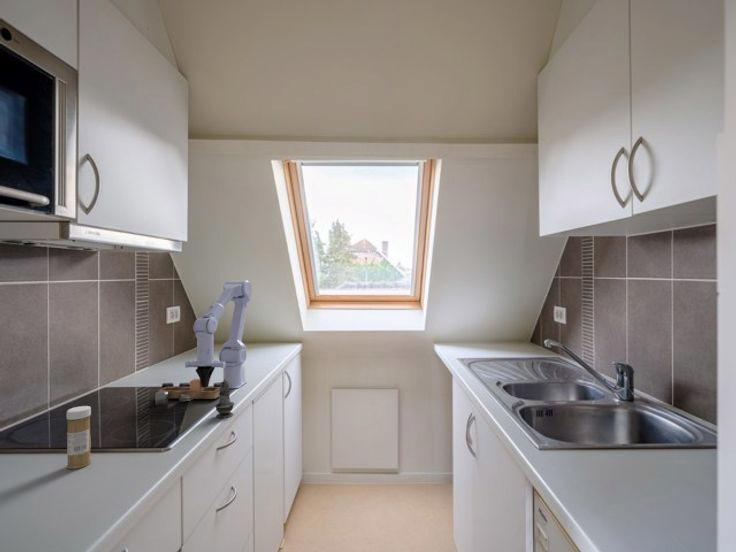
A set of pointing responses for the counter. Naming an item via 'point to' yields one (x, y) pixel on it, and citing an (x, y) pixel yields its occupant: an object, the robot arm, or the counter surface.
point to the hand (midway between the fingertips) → (205, 386)
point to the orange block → (196, 385)
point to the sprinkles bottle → (78, 437)
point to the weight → (161, 398)
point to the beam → (191, 393)
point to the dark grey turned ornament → (224, 401)
